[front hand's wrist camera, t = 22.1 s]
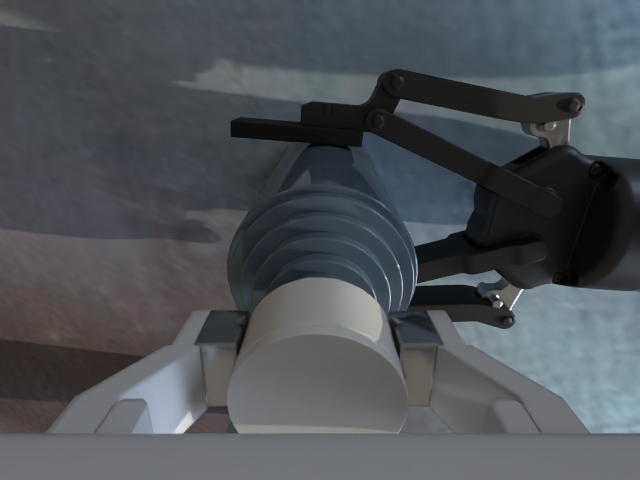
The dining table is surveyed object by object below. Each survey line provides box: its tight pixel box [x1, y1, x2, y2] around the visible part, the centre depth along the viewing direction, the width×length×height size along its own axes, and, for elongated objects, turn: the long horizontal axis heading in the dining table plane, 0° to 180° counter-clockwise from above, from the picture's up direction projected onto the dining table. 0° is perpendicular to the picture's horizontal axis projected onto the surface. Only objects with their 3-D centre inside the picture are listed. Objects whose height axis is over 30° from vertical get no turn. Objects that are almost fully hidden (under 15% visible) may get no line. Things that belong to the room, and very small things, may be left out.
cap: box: [227, 277, 408, 433], centre depth 9 cm, size 4×4×2 cm
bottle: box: [227, 142, 418, 317], centre depth 18 cm, size 7×7×20 cm
